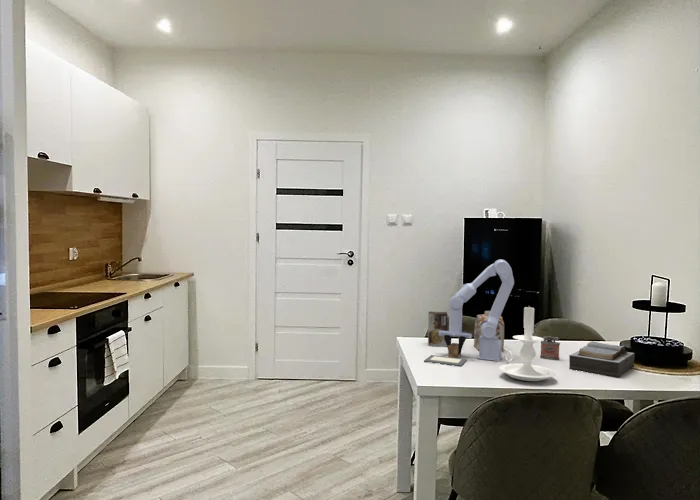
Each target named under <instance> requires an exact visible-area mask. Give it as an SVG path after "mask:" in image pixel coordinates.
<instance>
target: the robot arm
mask: <svg viewBox="0 0 700 500" xmlns="http://www.w3.org/2000/svg"><path fill="white" fill-rule="evenodd" d="M497 275H498V276H499V278H500V281H501V285H500V287H499V290H498V293H497V294H496V297H495V299H494V301H493V304H492V306H491V309H490V310H489V311H490V313H489V315H488V317H487V319H486V321H485V322H484V323H483V324H482V325H481V333H482V335H481V336H480V346H479V350H478V351H479V353H478V356H477V357H476V359H478V360H486V361H496V362H499V361H501V359H502V355H503V353H502V352H501V351H502V341H501V340H500V339H497V337H496V336H495V335H496V327H497V324H498V320H499V318H500V316H501V317H502V313H503V311H504V308H505V306H506V303H507V301H508V299H509V296H510V294H511V292H512V289H513V288H514V285H515V278H514V276H513V275H514V274H513V270H512V267H511V266H510V264H509V263H508V262H507V261H506V260H505V259H501V258H500V259H497V260H495V261H494V263H492V264H490V265H488V266H487V267H486V268H485V269H484V270H483V271H482V272H481V273H480V274H479V275H478V276H477V277H476V278H475V279H474V280H473V281H472V282H470V283H464V284H463V285H462V286H461V288H460V289H459V290H458V291H457V292H455V293H454V295H453V296H451V298H450V299H449V306H450V307H449V314H448V317H449V318H448V330H447V331H439V335H440V336H441V335H443V336H444V340H445V342H446V344H447V346H446V347H447V349H448V346H449V345H450V344H452V337H453V338H455V337H456V338H458V343H459V354H461V355H462V349H463V346H464V344H465V342H466V341H467V339H469V340H470V339H472V338H473V333H468V332H464V331H462V330H463V305H464V303H467V302H468V301H469V300H470V299H471V298H472V297H473V296H475V294H476V293H477V288H478V287H480V286H481V285H482V284H483V283H484V282H486V281H487V280H488V279H489V278H490V277H491V278H492V277H495V276H497Z"/></svg>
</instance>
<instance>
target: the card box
mask: <svg viewBox="0 0 700 500" xmlns="http://www.w3.org/2000/svg"><path fill="white" fill-rule="evenodd" d="M461 355H462V353H461V354H459V342H458V343H457V342H451V344H450V345H449V346H448V348H447V357H453V358H460V356H461Z"/></svg>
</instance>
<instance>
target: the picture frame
mask: <svg viewBox="0 0 700 500" xmlns="http://www.w3.org/2000/svg"><path fill="white" fill-rule="evenodd" d="M427 362H432V363H431V364H435V363H440V364H439V365H444V364H447V365H446V366H452V365H454V366H453V367H461V366H462V365H463V366H464V364H465V363H467V362H468V359H467V358H461V357H458V358H453V357H448V356H445V355H444V356H442V355H437V354H436V355H435V354H431V355H429V356H427V358H425V359H424V360H423V363H427ZM461 368H462V367H461Z"/></svg>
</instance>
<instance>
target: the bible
mask: <svg viewBox="0 0 700 500" xmlns="http://www.w3.org/2000/svg"><path fill="white" fill-rule="evenodd" d="M625 347H626V346H625V345H616V344H609V343H603V342H598V341H593V340H592V341H589V342H587V344H586V345H584V346H583V347H581V348H579V350H577V351H575V352H574V353H571V354H570V355H568V356H569V370H570V369H572V370H571V371H576V370H577V372H581V371H583V372H582V373H587V372H588V373H587V374H592V373H593V375H598V374H599V375H600V376H602V377H603V376H605V377H609V378H615V379H619V378H621V377H622V376H623V375H625V374H626V373H628V372H629V371H631V370H632V369H633V368H634V367H635V364H634V363H635V352H629V351H627V350H626V348H625ZM632 367H633V368H632ZM599 375H598V376H599Z"/></svg>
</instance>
